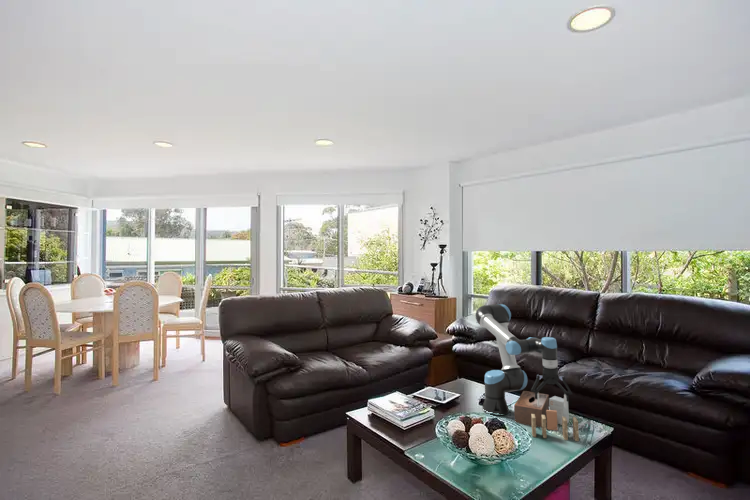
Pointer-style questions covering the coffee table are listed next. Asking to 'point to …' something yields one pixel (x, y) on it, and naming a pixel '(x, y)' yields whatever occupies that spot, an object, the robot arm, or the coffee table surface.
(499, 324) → the robot arm
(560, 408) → the small box
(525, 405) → the tissue box cover
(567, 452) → the coffee table surface
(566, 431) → the domino
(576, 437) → the domino
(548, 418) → the terracotta domino
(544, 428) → the domino
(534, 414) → the domino
